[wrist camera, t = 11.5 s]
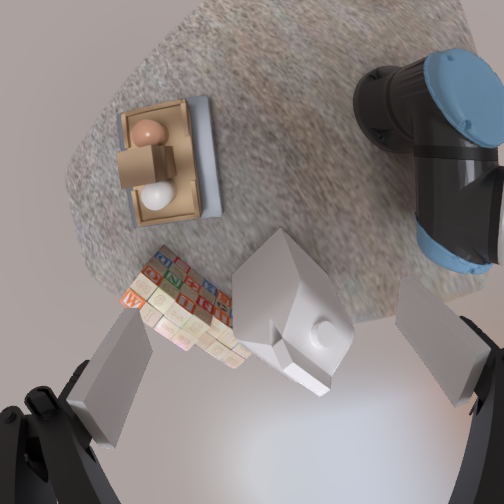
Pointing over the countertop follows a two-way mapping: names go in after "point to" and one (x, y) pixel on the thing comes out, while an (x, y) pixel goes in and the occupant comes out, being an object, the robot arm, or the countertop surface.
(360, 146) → the countertop surface
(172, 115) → the carrier tray
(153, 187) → the white egg
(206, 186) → the dock
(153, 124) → the brown egg
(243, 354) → the stack of blocks
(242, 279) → the milk
